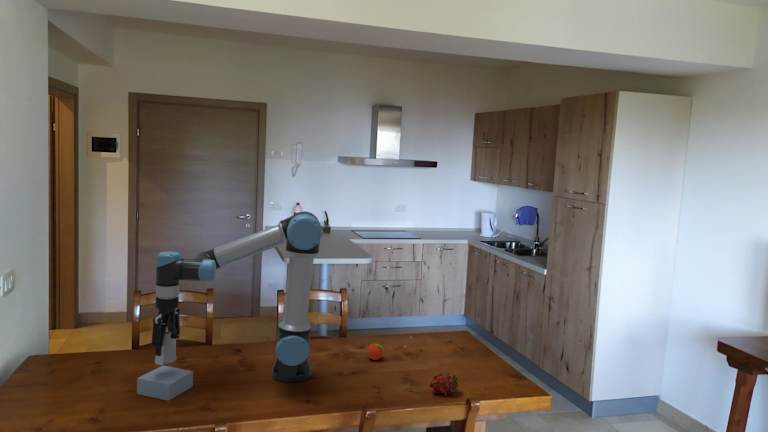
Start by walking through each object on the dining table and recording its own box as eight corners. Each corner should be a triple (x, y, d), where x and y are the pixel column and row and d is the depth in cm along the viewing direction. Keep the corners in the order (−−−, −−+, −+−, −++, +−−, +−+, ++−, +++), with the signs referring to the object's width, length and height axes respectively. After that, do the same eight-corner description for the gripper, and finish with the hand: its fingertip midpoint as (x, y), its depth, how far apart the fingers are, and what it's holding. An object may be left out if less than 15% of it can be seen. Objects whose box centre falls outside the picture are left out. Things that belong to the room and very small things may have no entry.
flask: (168, 365, 189) (169, 337, 188) (150, 362, 191) (150, 334, 190) (180, 358, 196) (181, 331, 195) (162, 355, 198) (163, 328, 197)
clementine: (387, 359, 237) (388, 343, 236) (378, 364, 231) (379, 347, 230) (372, 355, 241) (373, 339, 240) (363, 359, 235) (364, 343, 235)
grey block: (192, 387, 199) (193, 371, 198) (168, 401, 187) (168, 384, 186) (162, 381, 203) (163, 365, 202) (137, 394, 190) (137, 378, 190)
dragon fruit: (460, 396, 207) (431, 404, 203) (451, 377, 213) (422, 383, 209) (465, 384, 201) (435, 392, 198) (455, 365, 207) (426, 371, 203)
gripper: (172, 288, 202) (170, 349, 204) (140, 302, 182) (139, 369, 184) (191, 290, 201) (189, 351, 203) (161, 304, 181) (159, 371, 183)
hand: (165, 360), depth 193 cm, fingers closed on flask, 7 cm apart
